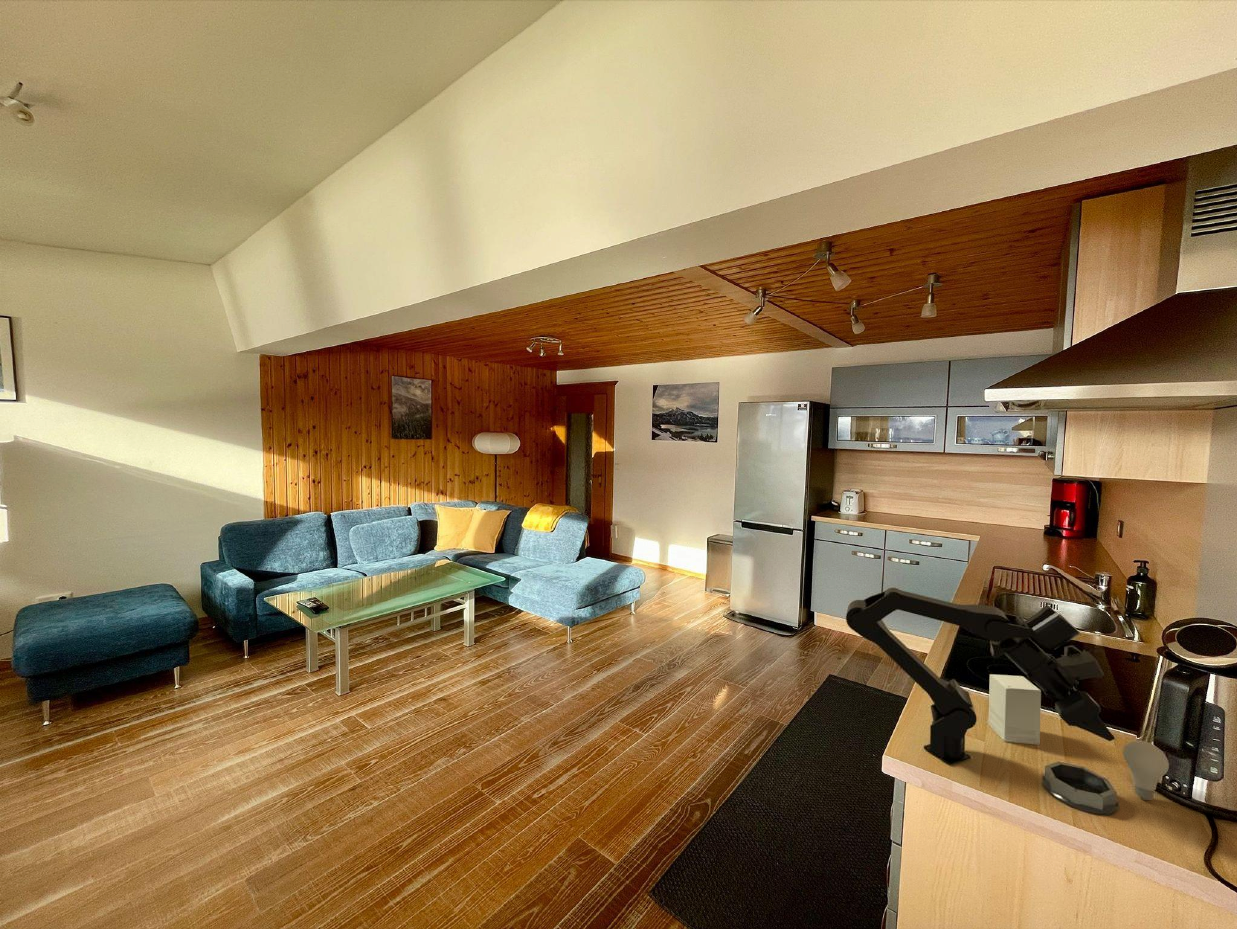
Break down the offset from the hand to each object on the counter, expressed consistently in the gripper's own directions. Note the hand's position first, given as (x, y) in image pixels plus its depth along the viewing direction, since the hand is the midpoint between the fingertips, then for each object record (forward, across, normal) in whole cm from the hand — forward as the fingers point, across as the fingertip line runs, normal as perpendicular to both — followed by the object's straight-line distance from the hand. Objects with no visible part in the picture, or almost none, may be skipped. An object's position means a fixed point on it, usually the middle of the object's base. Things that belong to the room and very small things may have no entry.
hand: (1102, 726), depth 100 cm
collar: (+6, -4, +12) cm, 14 cm away
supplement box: (+1, +15, +17) cm, 23 cm away
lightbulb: (+14, 0, +5) cm, 14 cm away
